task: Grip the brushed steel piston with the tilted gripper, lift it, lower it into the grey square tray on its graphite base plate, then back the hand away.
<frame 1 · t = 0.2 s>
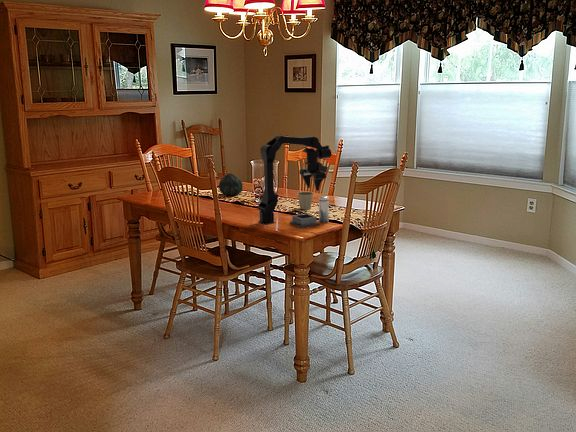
hand: (313, 189, 310), 15 cm above the table, tool pointing down, fingers open, 9 cm apart
squash: (231, 195, 373), on the table
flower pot: (305, 208, 332), on the table
grey square tray: (304, 224, 297), on the table
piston: (323, 221, 301), on the table
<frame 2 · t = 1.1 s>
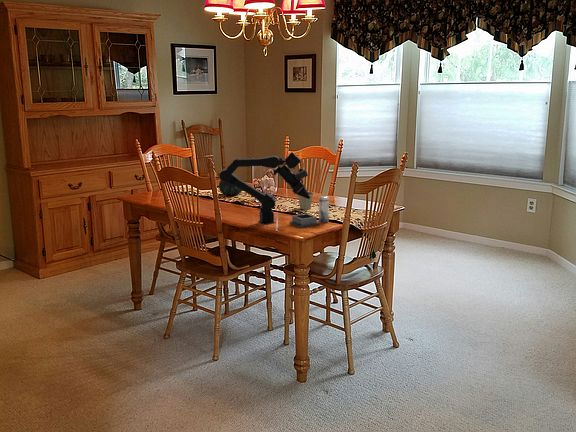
hand: (308, 196, 298), 13 cm above the table, tool tilted 45°, fingers open, 9 cm apart
nothing on the table moved.
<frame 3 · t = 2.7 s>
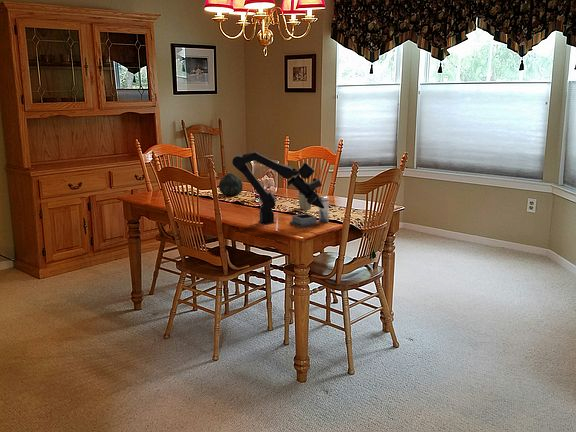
hand: (323, 206, 299), 8 cm above the table, tool tilted 45°, fingers open, 9 cm apart
nothing on the table moved.
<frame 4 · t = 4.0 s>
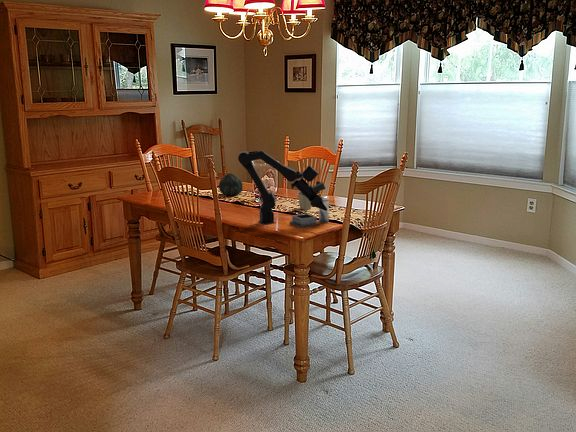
hand: (326, 209, 299), 7 cm above the table, tool tilted 45°, fingers closed on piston, 5 cm apart
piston: (323, 221, 301), on the table, touching gripper
everything else where it was.
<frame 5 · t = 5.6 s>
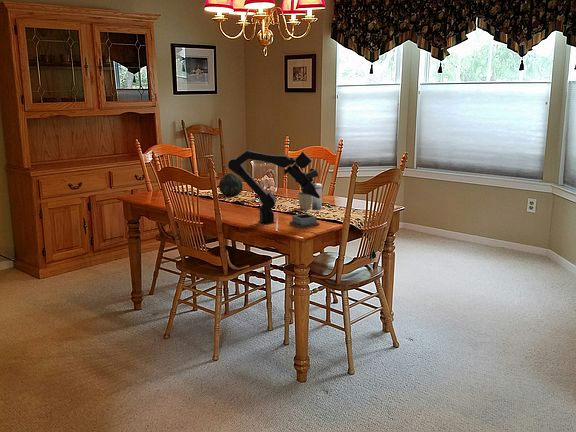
hand: (319, 196, 296), 14 cm above the table, tool tilted 45°, fingers closed on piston, 5 cm apart
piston: (316, 209, 297), point 7 cm above the table, touching gripper
everything else where it was.
when the fingers open (9 cm above the table, at t = 7.5 s): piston drops 1 cm, resting on grey square tray.
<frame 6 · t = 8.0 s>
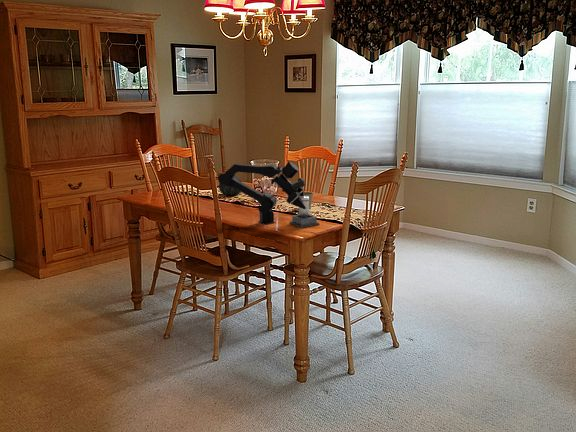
hand: (307, 206, 294), 9 cm above the table, tool tilted 45°, fingers open, 9 cm apart
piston: (304, 222, 296), point 1 cm above the table, touching grey square tray
everything else where it was.
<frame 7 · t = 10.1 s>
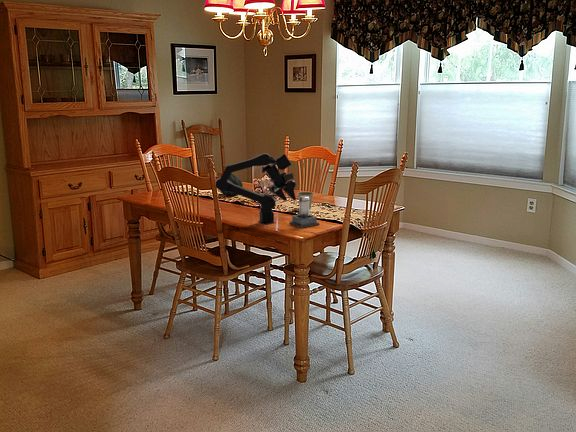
hand: (290, 200, 300), 11 cm above the table, tool tilted 30°, fingers open, 9 cm apart
nothing on the table moved.
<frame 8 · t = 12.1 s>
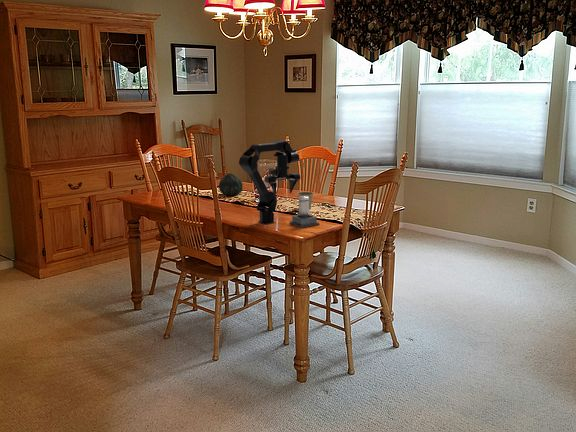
hand: (282, 194, 307), 13 cm above the table, tool pointing down, fingers open, 9 cm apart
nothing on the table moved.
at the end: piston 0.1 cm off-centre on the grey square tray, point 1.0 cm above the grey square tray's base; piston tilted 1°; the gripper is holding nothing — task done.
